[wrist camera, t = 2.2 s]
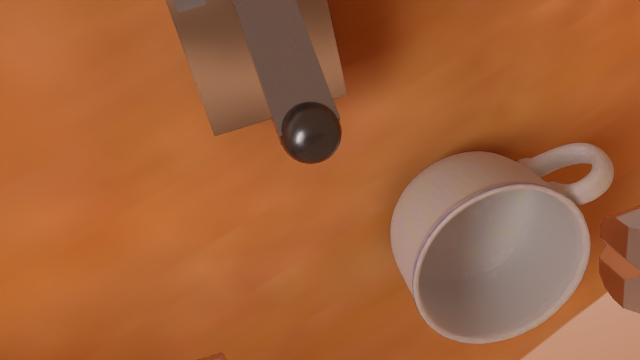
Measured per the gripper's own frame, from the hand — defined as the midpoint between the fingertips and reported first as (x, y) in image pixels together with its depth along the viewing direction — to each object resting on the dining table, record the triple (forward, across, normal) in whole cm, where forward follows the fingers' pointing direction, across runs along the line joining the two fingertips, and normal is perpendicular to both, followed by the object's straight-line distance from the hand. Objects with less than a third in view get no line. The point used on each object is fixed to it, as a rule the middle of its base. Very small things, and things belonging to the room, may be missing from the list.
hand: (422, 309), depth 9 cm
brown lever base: (+23, 0, -8) cm, 25 cm away
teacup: (+24, -11, +15) cm, 30 cm away
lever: (+16, 0, -4) cm, 16 cm away
